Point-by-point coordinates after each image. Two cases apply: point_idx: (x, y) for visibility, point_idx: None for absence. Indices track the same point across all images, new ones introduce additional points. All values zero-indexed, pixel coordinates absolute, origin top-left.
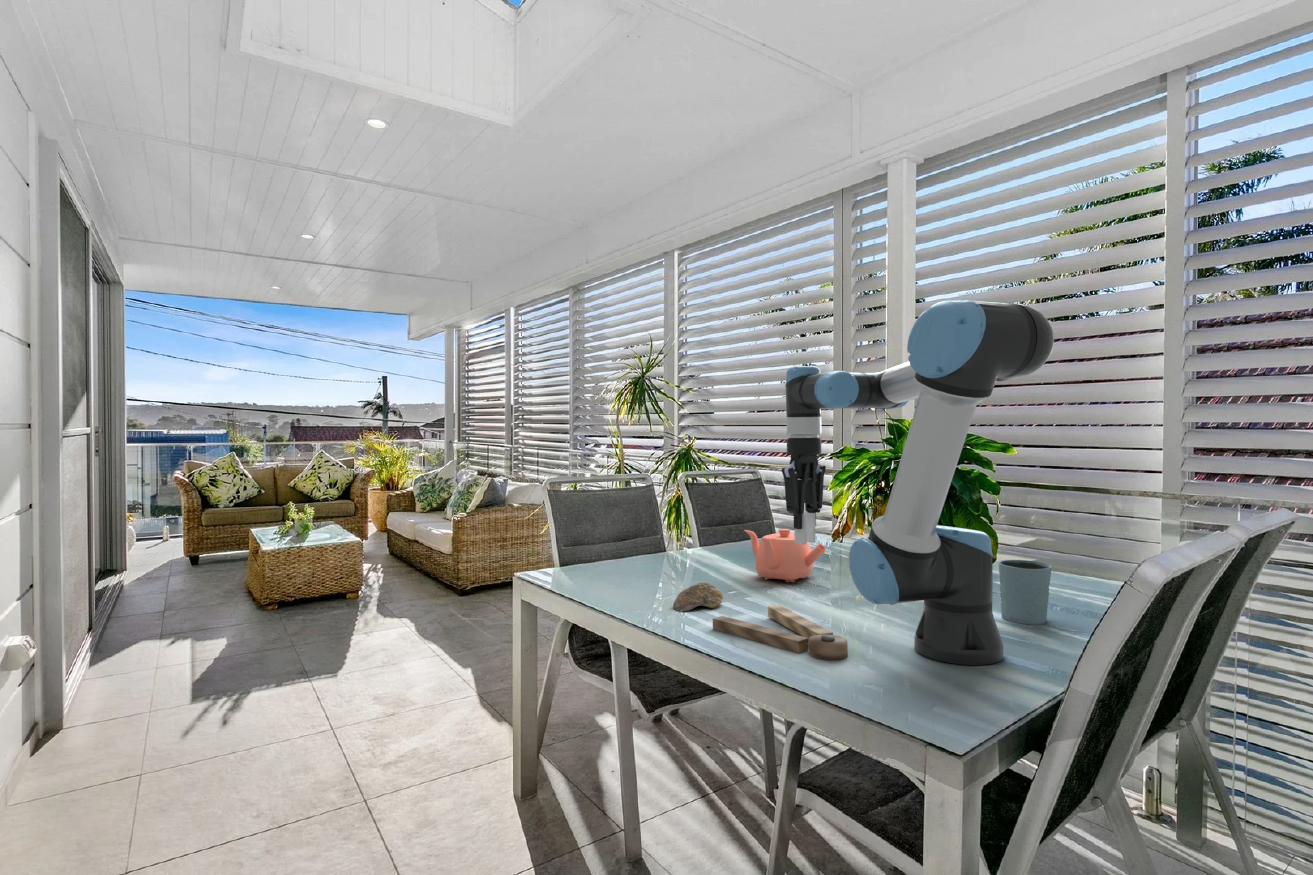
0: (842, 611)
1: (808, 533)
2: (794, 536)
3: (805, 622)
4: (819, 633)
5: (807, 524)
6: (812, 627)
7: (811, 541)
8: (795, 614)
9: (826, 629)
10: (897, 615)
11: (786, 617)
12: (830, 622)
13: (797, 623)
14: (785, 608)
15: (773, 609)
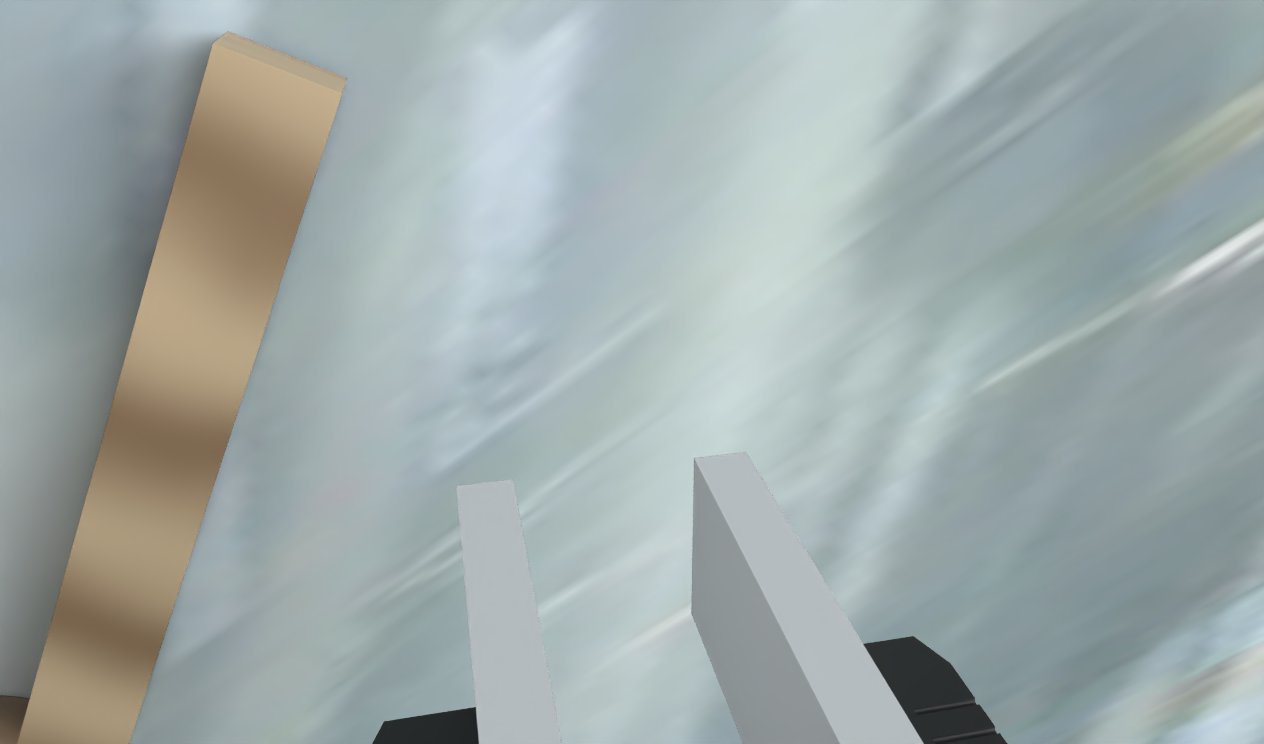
0: (815, 287)
1: (731, 627)
2: (464, 548)
3: (135, 545)
4: (30, 738)
5: (787, 725)
6: (87, 641)
7: (694, 595)
8: (231, 370)
9: (137, 708)
10: (941, 536)
11: (123, 365)
12: (521, 409)
13: (83, 512)
14: (301, 197)
15: (183, 151)
